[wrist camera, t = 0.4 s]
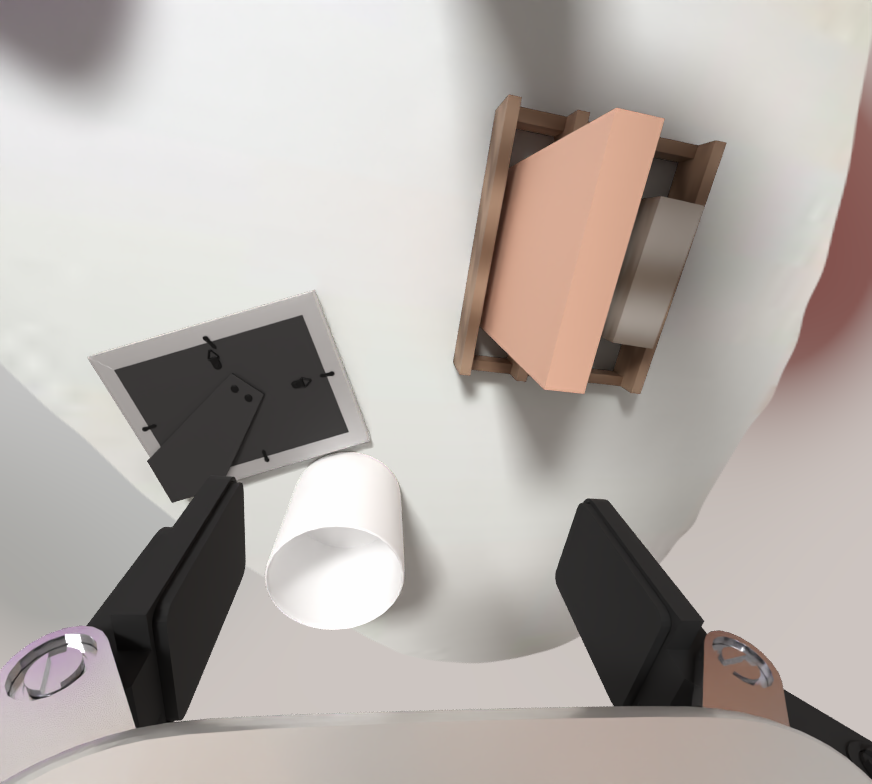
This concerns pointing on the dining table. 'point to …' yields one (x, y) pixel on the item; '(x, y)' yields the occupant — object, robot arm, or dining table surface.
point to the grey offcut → (650, 270)
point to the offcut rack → (632, 360)
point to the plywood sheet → (566, 245)
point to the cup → (339, 544)
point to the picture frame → (235, 394)
